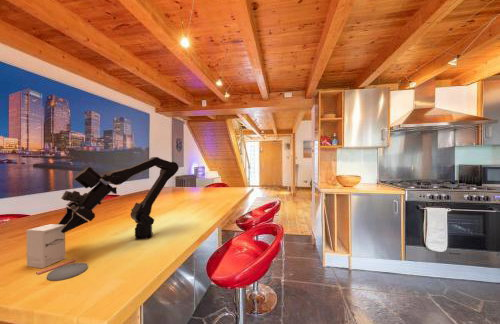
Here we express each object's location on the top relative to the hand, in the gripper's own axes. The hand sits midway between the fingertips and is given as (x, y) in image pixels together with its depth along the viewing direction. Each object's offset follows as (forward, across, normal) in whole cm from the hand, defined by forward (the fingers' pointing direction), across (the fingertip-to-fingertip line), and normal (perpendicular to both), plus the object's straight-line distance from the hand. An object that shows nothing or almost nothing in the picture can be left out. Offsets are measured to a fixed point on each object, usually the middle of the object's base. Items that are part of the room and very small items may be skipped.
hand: (59, 229), depth 78 cm
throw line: (+9, +7, +6) cm, 13 cm away
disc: (+7, +14, +8) cm, 18 cm away
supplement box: (+10, 0, +5) cm, 11 cm away
